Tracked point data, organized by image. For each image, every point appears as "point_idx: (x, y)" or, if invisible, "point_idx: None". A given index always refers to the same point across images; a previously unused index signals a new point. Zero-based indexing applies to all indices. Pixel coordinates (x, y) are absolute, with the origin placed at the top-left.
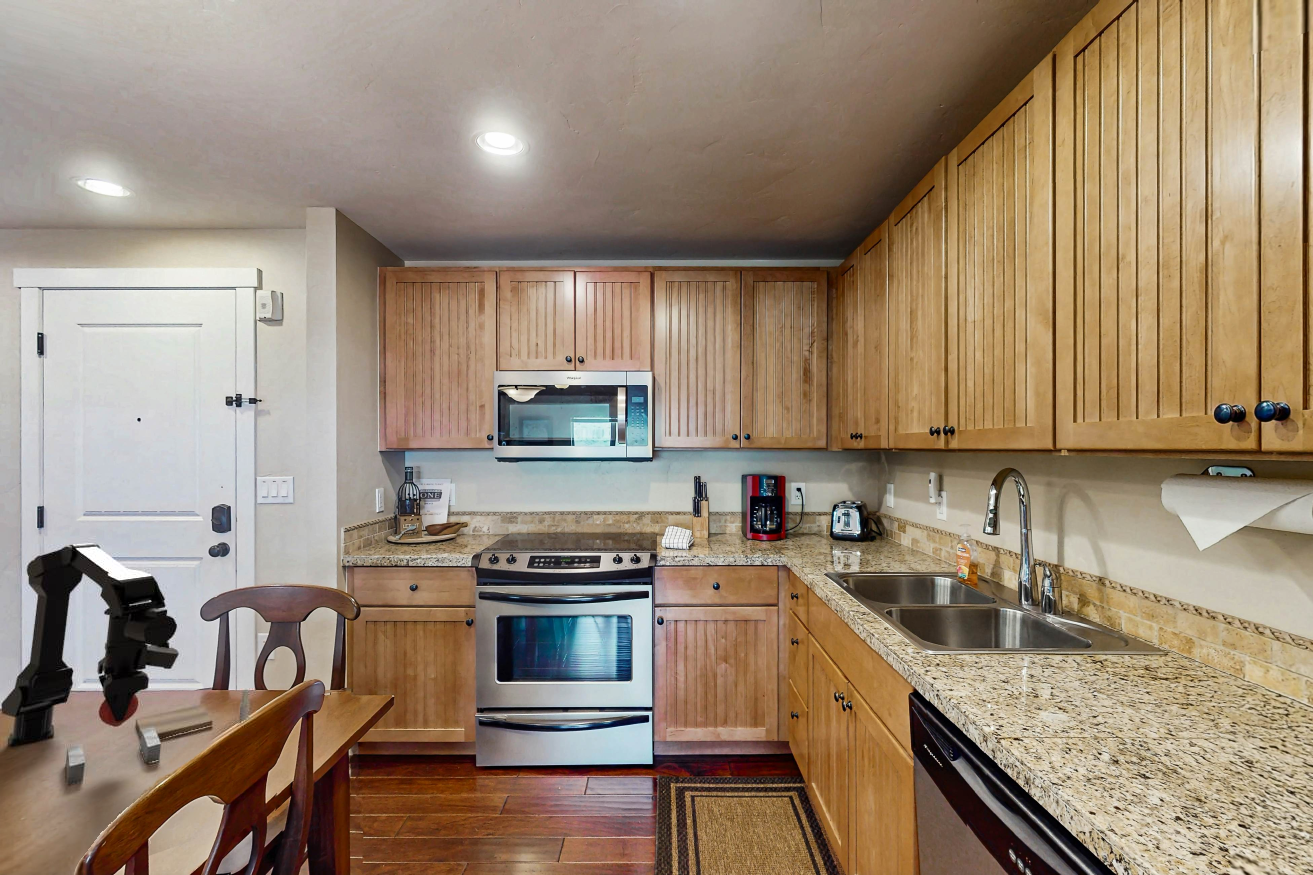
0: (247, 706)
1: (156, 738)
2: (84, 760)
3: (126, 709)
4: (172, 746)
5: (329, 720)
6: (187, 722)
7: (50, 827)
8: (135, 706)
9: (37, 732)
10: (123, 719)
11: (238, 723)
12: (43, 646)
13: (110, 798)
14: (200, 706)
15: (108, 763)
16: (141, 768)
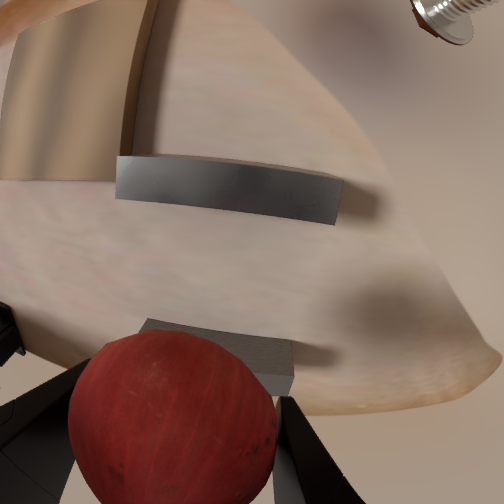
0: None
1: (266, 175)
2: (277, 374)
3: (322, 451)
4: (226, 107)
5: None
6: (99, 51)
7: (431, 380)
8: (237, 394)
9: (9, 338)
10: (293, 399)
11: (484, 2)
12: None
13: (432, 312)
14: (26, 34)
15: (214, 279)
16: (337, 226)
